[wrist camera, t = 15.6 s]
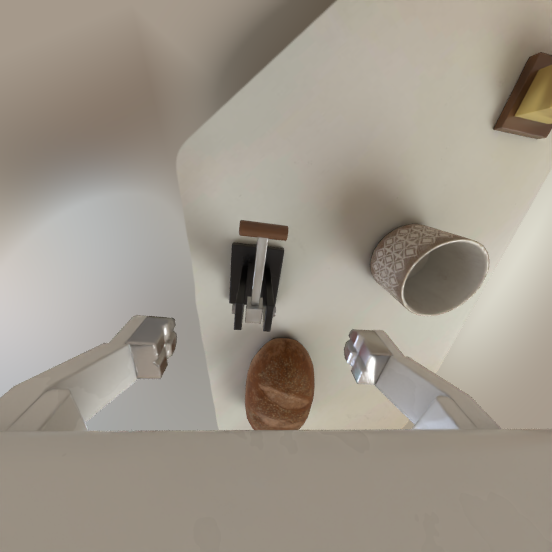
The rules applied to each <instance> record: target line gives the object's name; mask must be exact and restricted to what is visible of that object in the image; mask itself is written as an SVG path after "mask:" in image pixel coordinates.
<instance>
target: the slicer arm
mask: <svg viewBox="0 0 552 552" xmlns="http://www.w3.org/2000/svg"><path fill="white" fill-rule="evenodd" d="M239 235H241V236H250V237H258V240H257V249H256V259H255V268H254V278H253V287H252V297H247V306H246V317H245V323H259V324H261V319H262V312H263V298H260V294H261V287H262V280H263V273H264V265H265V258H266V251H267V244H268V239H275V240H284V241H286V240H287V237H288V226H284V225H276V224H268V223H260V222H252V221H244V220H241V221H240V227H239Z"/></svg>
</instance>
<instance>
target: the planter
mask: <svg viewBox="0 0 552 552" xmlns="http://www.w3.org/2000/svg"><path fill="white" fill-rule="evenodd" d="M370 267H371V273H372V275H373V277H374V279H375V280H376V281H377V282H378V283H379V284H380V285H381V286H382V287H383V288H384V289H385V290H386V291H388V292H389V293H390V294H391V295H392V296H393V297H394V298H395V299H396V300H398V301H399V302H400V303H401V304H402V305H403V306H404V307H405V308H406V309H408V310H409V311H410V312H412V313H414V314H416V315H420V316H435V315H440V314H443V313H446V312H449V311H451V310H453V309H455V308H457V307H459V306H460V305H462V304H463V303H465V302H466V301H467V300H468V299H469V298H471V297H472V296H473V295H474V294H475V293H476V291H477V290H478V289H479V288H480V286H481V285H482V283H483V282H484V280H485V278H486V276H487V273H488V269H489V255H488V252H487V250H486V249H485V247H484V246H483V245H482V244H480V243H479V242H477V241H474V240H471V239H468V238H465V237H461V236H458V235H455V234H451V233H448V232H445V231H441V230H438V229H435V228H431V227H428V226H424V225H420V224H410V225H405V226H402V227H399V228H397V229H395V230H393V231H392V232H390V233H389V234H387V235H386V236H385V237H384V238H383V239H382V240H381V241H380V242H379V244H378V245H377V247H376V248H375V250H374V252H373V255H372V258H371V264H370Z"/></svg>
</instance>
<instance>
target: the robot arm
mask: <svg viewBox="0 0 552 552" xmlns="http://www.w3.org/2000/svg"><path fill="white" fill-rule="evenodd" d="M175 326H176V324H175V319H174V318H167V317H155V316H140V315H136V316H133V317H132V318H131V319H130V320H129V322H128V323H127V324H126V325H125V326H124V327H123V328H122V329H121V330H120V331H119V332H118V333H117V335H116V336H115V337H114V338H113V339H112V340H111V341H110V342H109V343H103V344H101V345H99V346H97V347H95V348H93V349H91V350H89V351H86V352H84V353H82V354H80V355H78V356H76V357H74V358H72V359H70V360H68V361H66V362H64V363H62V364H59V365H57V366H55V367H53V368H51V369H49V370H47V371H45V372H43V373H41V374H39V375H37V376H34V377H32V378H30V379H29V380H26V381H24V382H22V383H20V384H18V385H16V386H14V387H13V388H11V389H10V390H9V391H8V392H7V393H5V394H4V395H3V396H2V397H1V398H0V552H552V429H501V428H500V426H498V425H497V423H496V422H495V421H494V420H493V419H492V418H491V417H490V416H489V415H488V414H487V413H486V412H485V411H484V410H483V409H482V408H481V407H480V406H479V405H478V404H477V402H476V401H475V400H474V399H473V398H472V397H470V396H469V395H468V394H466V393H465V392H463V391H462V390H460V389H459V388H457V387H455V386H454V385H452V384H451V383H449V382H447V381H446V380H444V379H443V378H441V377H439V376H438V375H436V374H435V373H433V372H431V371H430V370H428V369H427V368H425V367H423V366H422V365H420V364H419V363H417V362H416V361H414V360H412V359H411V358H409V357H405V356H404V355H403V354H402V352H401V351H400V350H399V349H398V347H397V346H396V345H395V344H394V343H393V341H392V340H391V339H390V338H389V336H388V335H387V334H386V333H385V332H384V331H382V330H356V329H352V330H351V331H350V334H349V337H350V340H349V341H347V342H346V344H345V347H344V355H345V359H346V361H347V363H348V364H349V365H351V366H352V370H351V372H352V374H353V376H354V378H355V380H356V382H357V384H368V385H375V386H376V387H377V388H378V389H379V390H380V391H381V392H382V393H383V394H384V395H385V396H386V397H387V398H388V399H389V400H390V401H391V402H392V403H393V404H394V405H395V406H396V407H397V408H398V409H399V410H400V411H401V412H402V413H403V414H404V415H405V416H406V417H407V418H408V419H409V420H410V421H411V422H412V423H414V426H413V428H412V429H384V430H202V431H200V430H199V431H198V430H197V431H196V430H193V431H89V429H88V427H87V425H86V423H85V422H87V421H88V420H89V419H90V418H92V417H93V416H94V415H95V414H97V413H98V412H99V411H100V410H101V409H102V408H104V407H105V406H106V405H107V404H109V403H110V402H111V401H112V400H114V399H115V398H116V397H117V396H118V395H120V394H121V393H122V392H123V391H125V390H126V389H127V388H128V387H129V386H131V385H132V384H133V383H134V382H136V381H137V379H160V378H161V377H162V375H163V373H164V371H165V369H166V367H167V365H168V364H167V359H168V358H169V357H171V356H172V355H173V352H174V350H175V347H176V343H177V334H176V333H175V332H174V327H175Z"/></svg>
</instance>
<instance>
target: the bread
mask: <svg viewBox="0 0 552 552" xmlns="http://www.w3.org/2000/svg"><path fill="white" fill-rule="evenodd" d="M313 396H314V368H313V364H312V361H311V358H310V356H309V354H308V352H307V350H306V349H305V348H304V347H303V345H301V344H300V343H299V342H298V341H296V340H293V339H288V338H277V339H272V340H270V341H269V342H267V343H266V344H265V345H264V346H263V347H262V348H261V349H260V350H259V351H258V353H257V354H256V355H255V357H254V358H253V360H252V362H251V364H250V367H249V370H248V374H247V381H246V394H245V407H246V415H247V419H248V421H249V423H250V424H251V426H252V428H253V429H254V430H299V429H300V428H301V426H302V425H303V424H304V423H305V421H306V419H307V417H308V414H309V411H310V408H311V404H312V401H313Z"/></svg>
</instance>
